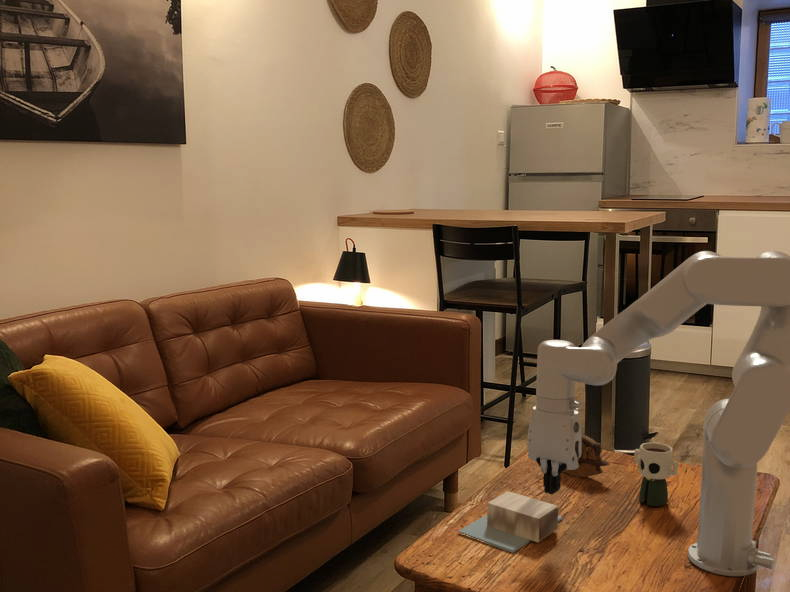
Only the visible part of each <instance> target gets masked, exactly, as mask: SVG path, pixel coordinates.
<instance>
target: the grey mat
mask: <svg viewBox="0 0 790 592" xmlns="http://www.w3.org/2000/svg"><path fill="white" fill-rule="evenodd" d="M561 521H563V516H561V515H558V523H559V522H561ZM458 532H460V533H462V534H465V535H468V536H470V537H473V538H476V539H479V540H481V541H484V542H486V543H488V544H487V545H489V544H490V545H489V546H491V545H493V546H492V547H494V546H495V547H494V548H497V547H498V548H497V549H501V550H502V551H506V552H509V553H512V554H514V553H516V552H517V551H519V550H520V549H521V548H523V547H524V546H526V545H527V544H528V543H530V542H532V540H529V539H526V538H523V537H520V536H517V535H514V534H511V533H508V532H505V531H502V530H499V529H496V528H493V527H490V526H487V514H485V515H483V516H481V517H480V518H479V519H477V520H475V521H473V522H471V523H469V524H468V525H466V526H464V527H463V528H461V529H459V530H458ZM458 532H457V533H458ZM486 543H485V544H486Z"/></svg>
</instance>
